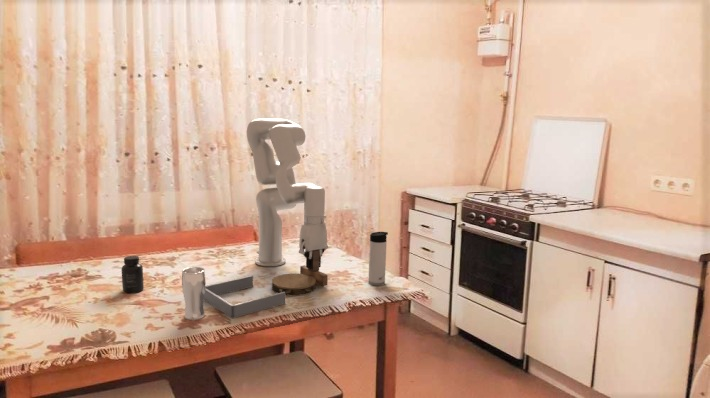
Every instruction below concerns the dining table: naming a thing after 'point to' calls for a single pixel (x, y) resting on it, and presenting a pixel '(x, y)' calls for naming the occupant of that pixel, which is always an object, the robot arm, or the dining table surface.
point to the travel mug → (377, 258)
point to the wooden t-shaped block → (315, 269)
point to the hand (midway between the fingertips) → (313, 266)
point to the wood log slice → (294, 284)
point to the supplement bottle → (132, 275)
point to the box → (243, 307)
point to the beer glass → (193, 292)
